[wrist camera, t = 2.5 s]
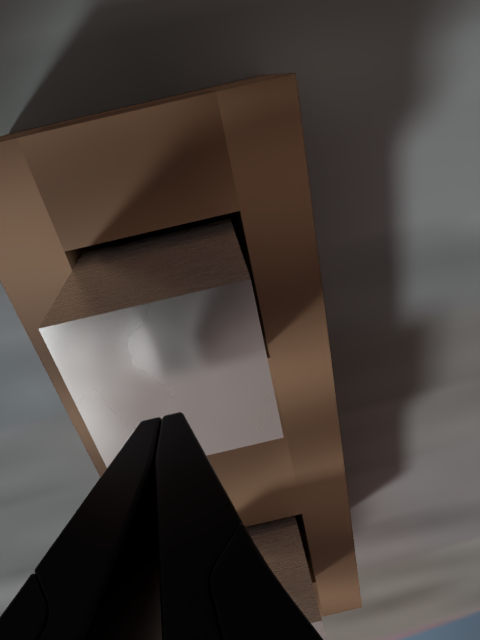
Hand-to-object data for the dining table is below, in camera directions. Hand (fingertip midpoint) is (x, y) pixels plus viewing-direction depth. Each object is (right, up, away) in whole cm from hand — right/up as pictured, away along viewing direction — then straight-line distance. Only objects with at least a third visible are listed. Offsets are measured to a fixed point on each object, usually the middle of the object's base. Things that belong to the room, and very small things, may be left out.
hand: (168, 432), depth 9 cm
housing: (0, -1, +12) cm, 12 cm away
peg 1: (-1, +3, +6) cm, 6 cm away
